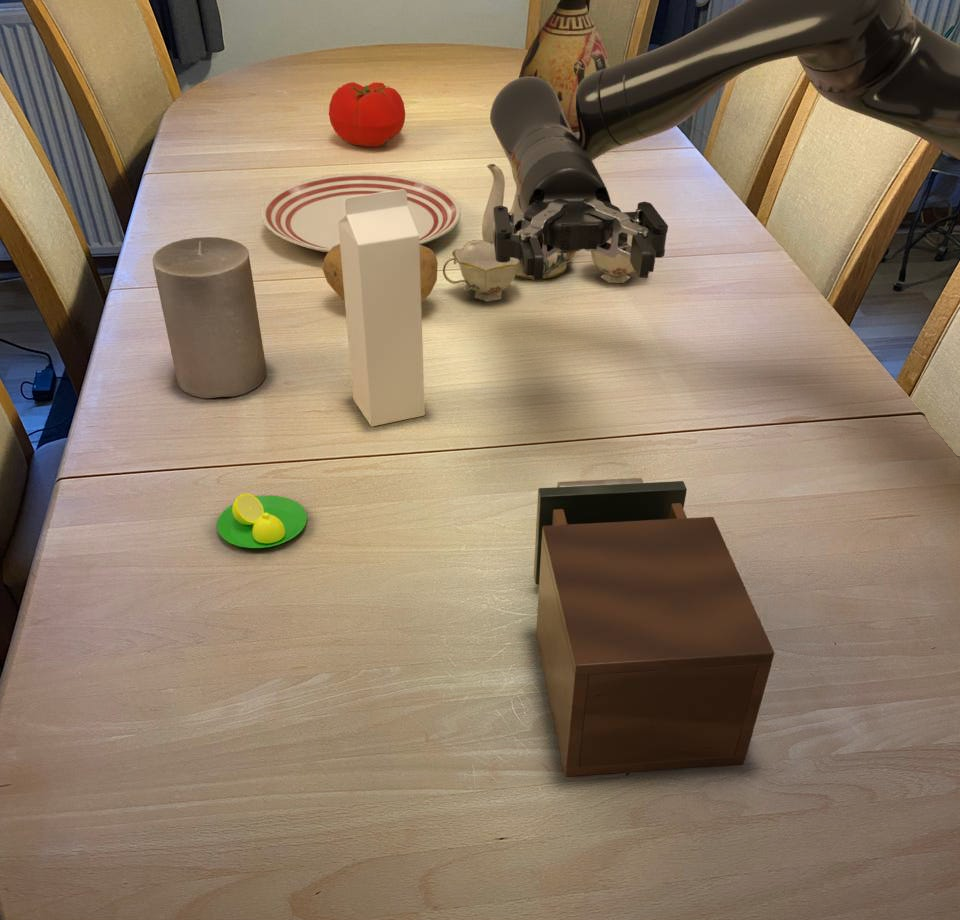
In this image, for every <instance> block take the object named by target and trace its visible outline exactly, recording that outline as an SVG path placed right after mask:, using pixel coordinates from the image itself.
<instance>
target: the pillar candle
mask: <svg viewBox="0 0 960 920" xmlns="http://www.w3.org/2000/svg"><path fill="white" fill-rule="evenodd" d="M152 267H153V271H154V276H155V281H156V285H157V290H158V296H159V299H160V304H161V310H162V314H163V319H164V324H165V328H166V334H167V338H168V343H169V348H170V352H171V358H172V362H173V367H174V372H175V378H176V381H177V385H178V387H179V388H180V389H181V390H182V391H183V392H185V393H186V394H188V395H190V396H193V397H196V398H201V399H214V398H221V397H222V398H225V397H227V398H228V397H239V396H243V395H245V394H247V393H249V392H253V390H255V389H257V388H259V386H261V385H262V383H263V382H264V380H265V379H266V376H267V372H268V370H267V369H268V368H267V363H266V357H265V351H264V345H263V339H262V338H263V337H262V331H261V326H260V318H259V311H258V305H257V299H256V292H255V286H254V285H255V284H254V278H253V272H252V266H251V259H250V252H249V249H248V248H247V246H245V245H244V244H242V243H241V242H239V241H237V240H233V239H230V238H223V237H217V236H216V237H215V236H214V237H213V236H203V237H190V238H184V239H180V240H177V241H172V242H170V243H168V244H166V245H164V246H162V247H160V248H159V249H158V250H156V251H155V253H154V254H153V257H152Z"/></svg>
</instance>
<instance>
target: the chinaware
mask: <svg viewBox="0 0 960 920" xmlns="http://www.w3.org/2000/svg"><path fill="white" fill-rule="evenodd" d="M486 167H487V168H488V170H489V172H491V174H492V178H493V181H492V186H491V190H490V192H489V197H488V199H487V203H486V206H485V209H484V213H483V217H482V223H481V232H482V233H481V234H482V239H483V240H482V239H473V240H471V241H468V242H467V243H466V244H465V245H464V246H463V247H462V248H456V249H454V250H453V251H452V254H451V255H452V256H453V257H451V258H448V259H447V260H446V261H445V263H444V264H443V267H442V275H443V277H444V279H445V280H446V281H447V282H448V283H450V284H460V283H465V286H464V291H469V290H471V289H472V290H474V291H475V293H474V298H475V299H478V300H481V301H485V302H491V301H496V300H501V299H502V296H503V295H502V292H503V290H505V289H506V288H508V287H509V286H510V285H511V283H512V282H513V280H514V278H515V277H516V278H521V279H527V280H533V279H532V276H527V275H525V274H524V272H523V269H522V266H521V264H519V263H518V259H516V258H511V257H510V261H509V262H504V263H502V262H498V261H496V257H495V248H494V240H493V213H494V207H496V206H504V199H505V189H506V186H505V185H506V181H505V176H504V175H505V174H504V172H503V170H502V169H501V168H500V167H499V166H498V165H496V164H494V163H489V164H487V166H486ZM517 198H518V196H517V189H515V194H514V199H513V202H512V206H511V208H510V211H509V212H513V213H514V215H523V212H522V210H521V209H520V207H519V204H518V199H517ZM520 231H522V230H520ZM520 231H518V232H517V234H516V235H519V232H520ZM611 239H612V238H611ZM611 239H610V240H609V241H607V242H608V243H610V244H611ZM627 244H628V245H629V246H631V245H632V235H629V234H628V237H627ZM576 253H577V251H576V252H572V253H556V252H555V253H554V254H552V255H551V256H550V257H548V258H547V259H546V260H544V266H543V280H547V279H551V278H552V279H553V278H556V277H559V276H560V275H562V274H564V273H565V272H566V270H567V268H568V267H567V263H569V262H570V261H572V259H573V258H574V256H575V255H576ZM590 256H591V259H592V261H593V262H594V265H595V266H596V267H597V269H599V270H600V271H601V272H602V273H603V274H602V275H600V278H601V279H603V280H604V281H605V282H607V283H614V284H620V283H622V284H624V283H626V281H628V280H629V279H630V278H631V276H630V275H629V274H630V273H632V272H633V271H634V272H635V270H634V268H633V266H632V264H631V262H630V259H628V258H626V257H623V256H618V257H616V258H611V257H609V256H606V255H604V254H601V253H599V252H596V251H594V250H592V251H590ZM452 261H453V265H457V264H458V265H459V266H458V267H459V268H460V272H461V275H462V278H463V279H459V280H452V279H451V278H449V277H448V276H447V273H446V268H447V265H448V264H449V263H450V262H452Z"/></svg>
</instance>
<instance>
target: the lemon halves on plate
mask: <svg viewBox="0 0 960 920" xmlns="http://www.w3.org/2000/svg"><path fill="white" fill-rule="evenodd" d="M307 519H308V516H307V513H306V510H305V509H304V507H303V506H302V505H301V504H299V503H298V501H295V500H293V499H291V498H288V497H285V496H279V495H256V496H255V495H253V494H251V493H249V492H244V493H240V494H239V495H238V496H237V497H236V498H235V499H234V501H233V503H232V504H231V505H229V506H228V507H227V508H225V510H223V511H222V512H221V513H220V515H219V517H218V519H217V522H216V528H217V529H216V530H217V532H218V534H219V536H220V537H221V538H222V539H224V540H225V541H226V542H228V543H230V544H231V545H234V546H237V547H240V548H246V549H247V548H248V549H262V548H263V549H265V548H271V547H274V546H275V547H276V546H278V545H281V544H284V543H286V542H288V541H290V540H292V539H293V538H295V537H296V536H298V535H299V534H300V533H301V532H302V531H303V529H304V528H305V526H306V523H307Z"/></svg>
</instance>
